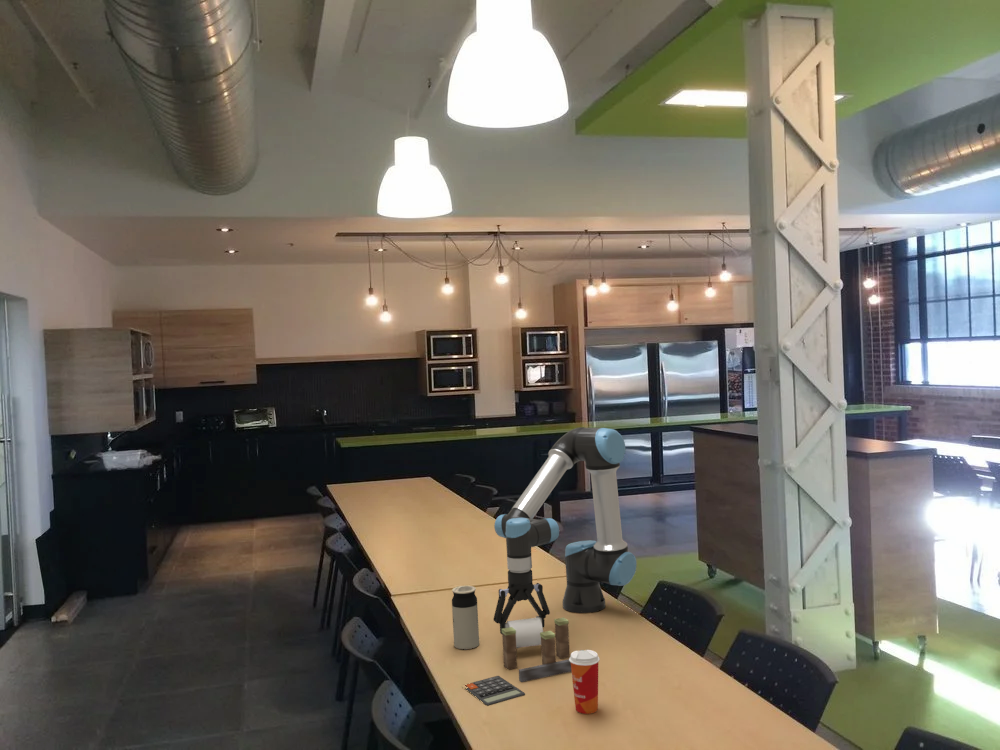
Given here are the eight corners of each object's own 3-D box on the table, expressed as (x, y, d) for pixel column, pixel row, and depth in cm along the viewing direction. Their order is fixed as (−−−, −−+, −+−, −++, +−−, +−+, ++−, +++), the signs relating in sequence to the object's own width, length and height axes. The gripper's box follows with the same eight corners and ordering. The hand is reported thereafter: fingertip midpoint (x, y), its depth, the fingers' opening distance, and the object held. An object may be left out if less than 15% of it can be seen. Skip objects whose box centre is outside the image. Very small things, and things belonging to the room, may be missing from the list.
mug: (544, 648, 239) (543, 622, 239) (511, 652, 237) (510, 625, 237) (534, 635, 251) (533, 610, 251) (503, 639, 249) (502, 613, 249)
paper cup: (569, 703, 205) (566, 650, 205) (598, 701, 206) (595, 647, 205) (574, 717, 197) (571, 661, 197) (605, 714, 198) (602, 658, 197)
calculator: (498, 674, 225) (525, 692, 212) (498, 678, 225) (525, 696, 212) (461, 684, 219) (486, 703, 206) (461, 688, 219) (487, 707, 206)
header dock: (565, 653, 240) (563, 617, 240) (585, 668, 228) (584, 630, 227) (503, 666, 232) (501, 628, 232) (520, 682, 220) (519, 642, 220)
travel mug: (482, 642, 253) (480, 585, 253) (473, 651, 246) (471, 593, 245) (459, 640, 256) (456, 584, 256) (450, 649, 248) (447, 591, 248)
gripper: (548, 561, 251) (551, 631, 252) (480, 572, 243) (483, 644, 243) (559, 567, 244) (562, 638, 245) (489, 577, 236) (492, 651, 236)
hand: (523, 641), depth 244 cm, fingers closed on mug, 10 cm apart
